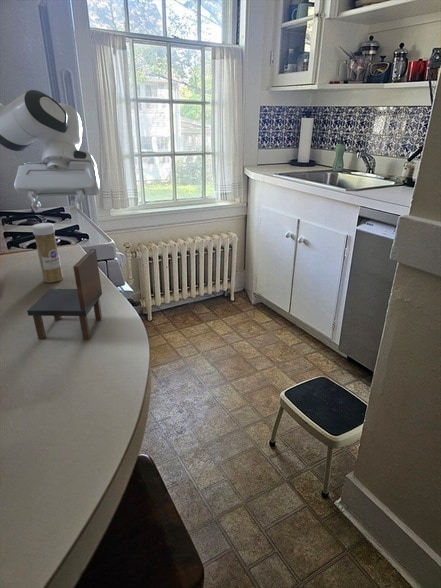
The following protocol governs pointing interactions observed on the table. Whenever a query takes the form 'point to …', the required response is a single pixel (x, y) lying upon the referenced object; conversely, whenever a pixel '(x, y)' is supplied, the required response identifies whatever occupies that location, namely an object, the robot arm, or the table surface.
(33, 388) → the table surface
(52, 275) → the sprinkles bottle
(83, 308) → the chair
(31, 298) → the table surface
